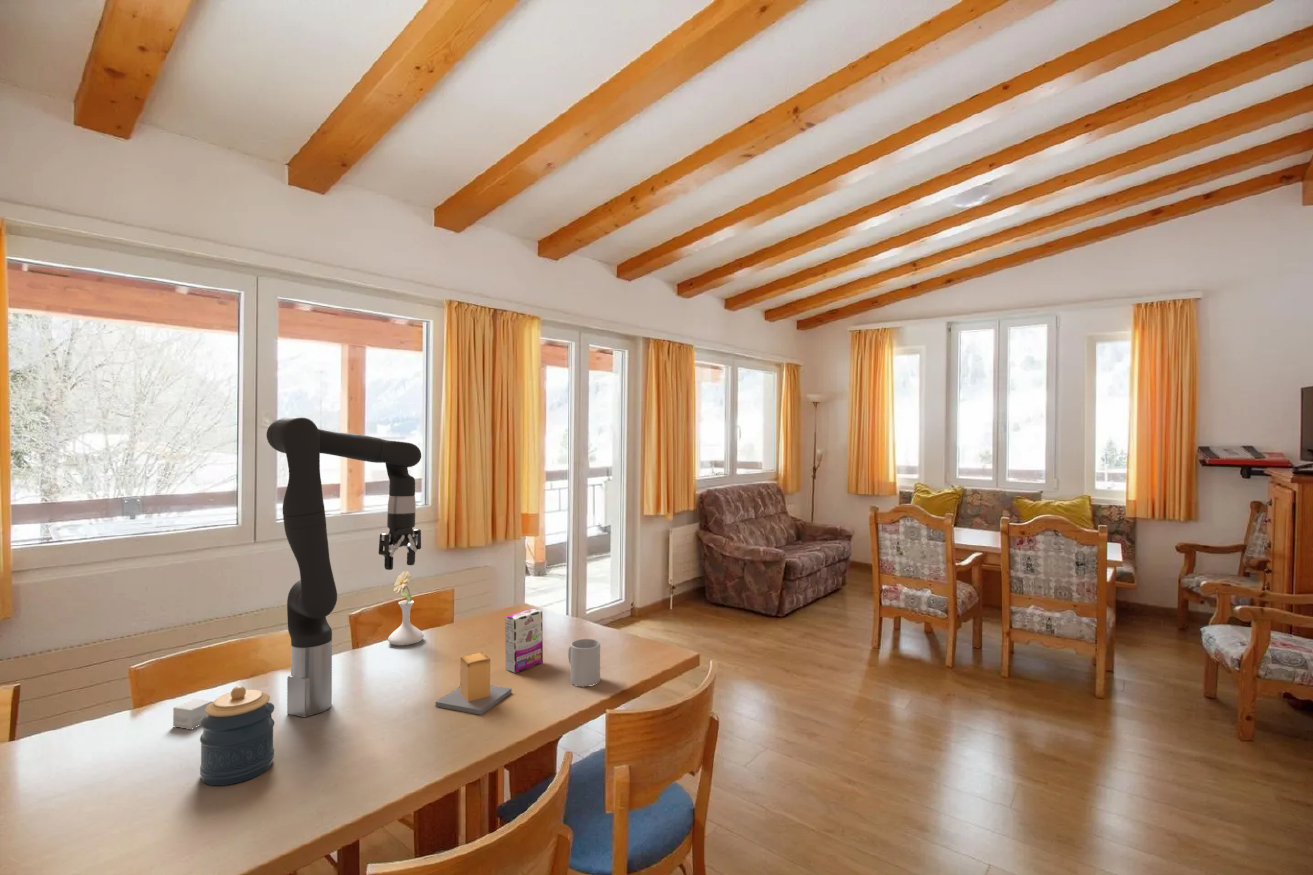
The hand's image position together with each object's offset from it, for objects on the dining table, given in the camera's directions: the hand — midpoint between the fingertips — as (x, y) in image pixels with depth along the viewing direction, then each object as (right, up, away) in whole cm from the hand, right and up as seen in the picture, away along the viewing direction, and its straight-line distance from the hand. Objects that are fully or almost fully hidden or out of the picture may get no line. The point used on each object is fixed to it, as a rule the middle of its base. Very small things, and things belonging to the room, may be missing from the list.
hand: (400, 567), depth 179 cm
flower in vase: (-10, -32, +29) cm, 44 cm away
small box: (-39, -32, -29) cm, 58 cm away
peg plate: (+26, -33, -14) cm, 44 cm away
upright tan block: (+26, -31, -14) cm, 43 cm away
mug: (+53, -33, 0) cm, 62 cm away
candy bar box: (+34, -33, +10) cm, 48 cm away
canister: (-14, -33, -49) cm, 60 cm away
